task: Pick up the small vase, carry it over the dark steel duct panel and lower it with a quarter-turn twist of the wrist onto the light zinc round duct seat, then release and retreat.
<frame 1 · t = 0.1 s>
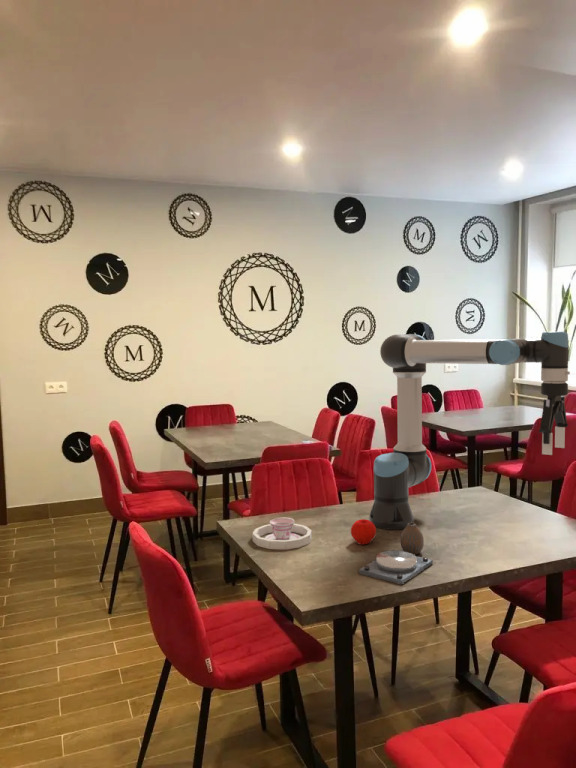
hand: (553, 451, 189), 28 cm above the table, fingers open, 13 cm apart
apple: (363, 543, 191), on the table
vase: (411, 553, 182), on the table
teacup: (282, 540, 196), resting in saucer ring
duct flange: (396, 568, 169), on the table
saucer ring: (282, 539, 196), on the table
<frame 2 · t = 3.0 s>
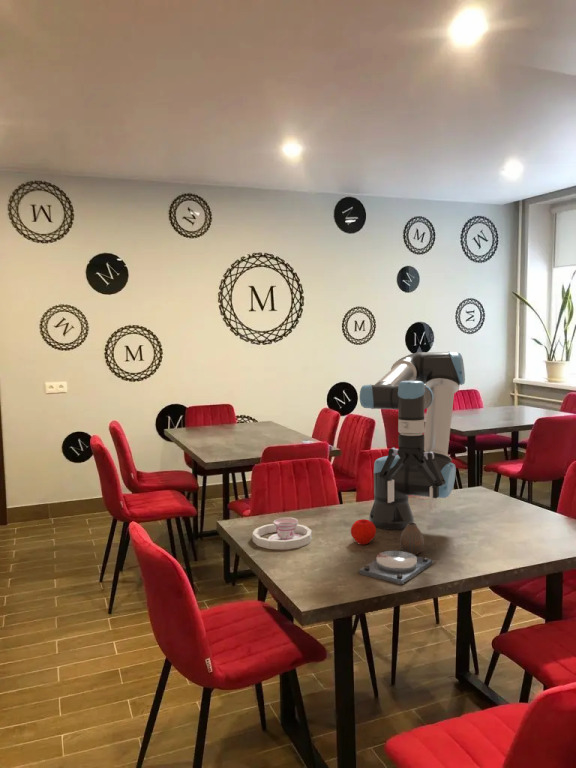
hand: (411, 505, 181), 14 cm above the table, fingers open, 13 cm apart
teacup: (286, 540, 196), resting in saucer ring
everything else where it was.
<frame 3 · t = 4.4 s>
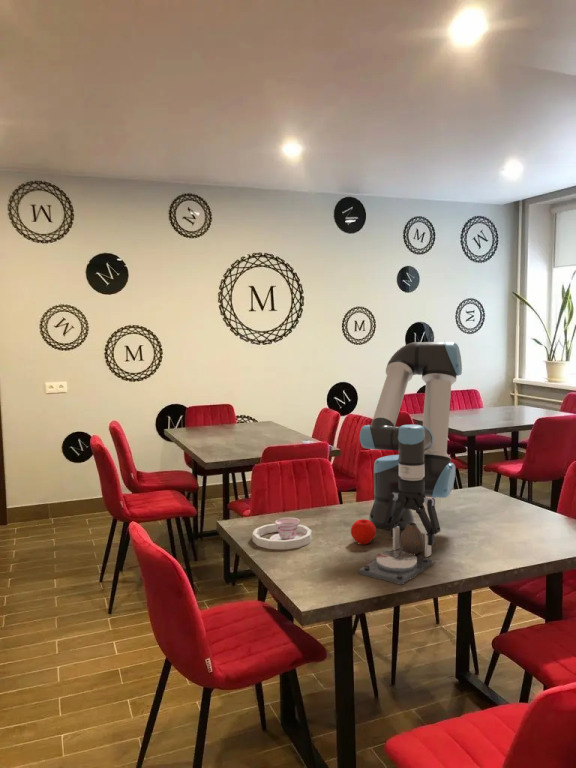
hand: (411, 551, 182), 0 cm above the table, fingers open, 10 cm apart
nothing on the table moved.
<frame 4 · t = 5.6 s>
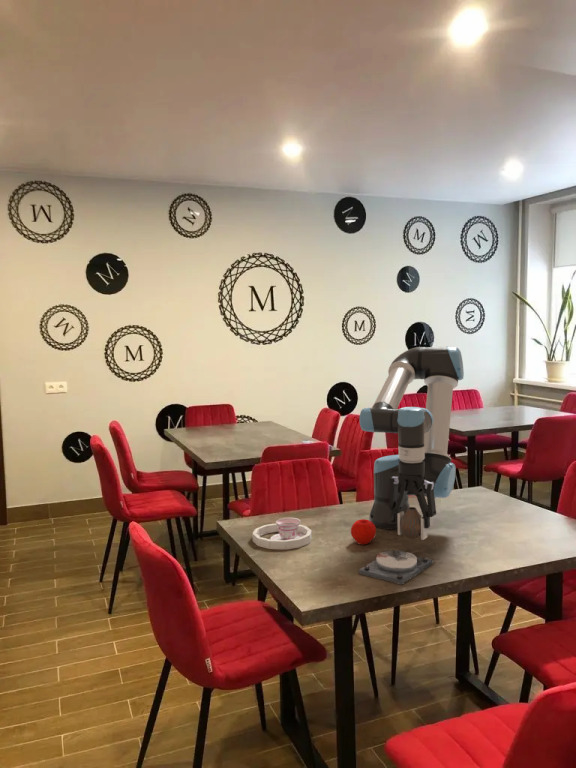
hand: (412, 535, 182), 5 cm above the table, fingers closed on vase, 7 cm apart
vase: (412, 537, 182), point 4 cm above the table, touching gripper
everything else where it was.
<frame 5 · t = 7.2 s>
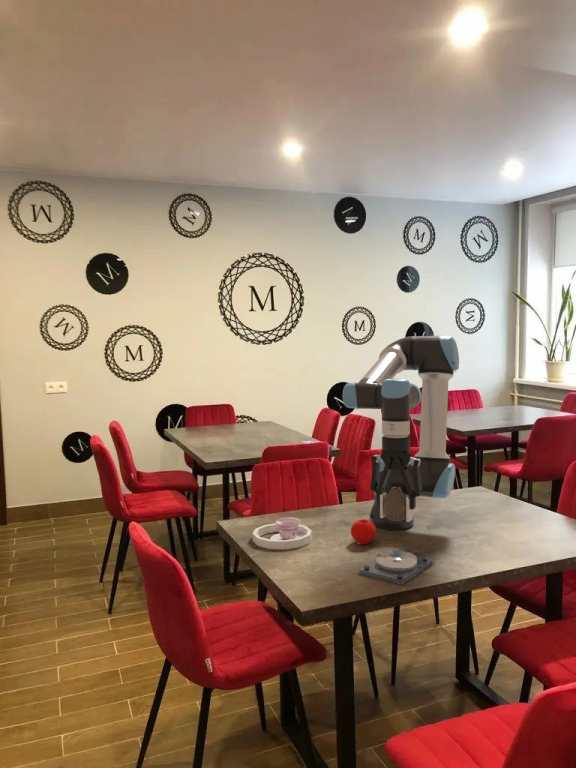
hand: (396, 518, 168), 14 cm above the table, fingers closed on vase, 7 cm apart
vase: (396, 520, 168), point 14 cm above the table, touching gripper
everything else where it was.
when the fingers open (5 cm above the table, at t = 9.0 s): vase stays where it is, resting on duct flange.
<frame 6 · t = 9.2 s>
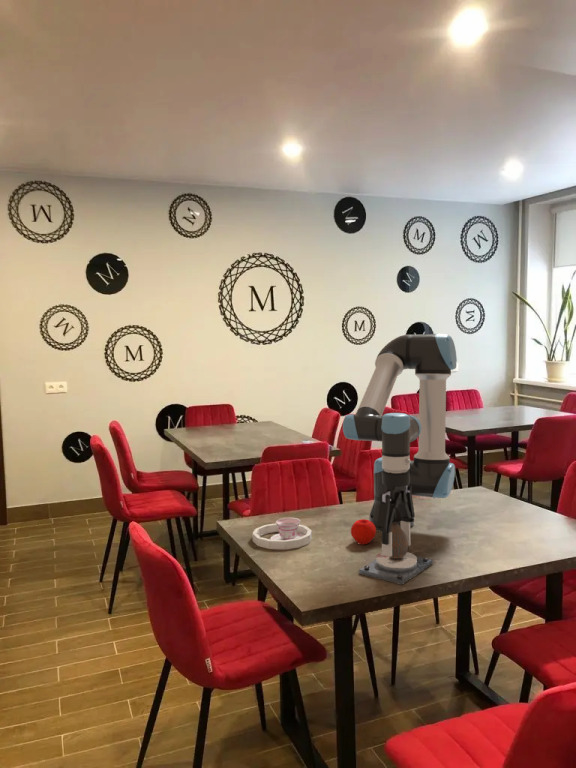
hand: (396, 549, 169), 5 cm above the table, fingers open, 10 cm apart
vase: (396, 557, 169), point 3 cm above the table, touching duct flange
everything else where it was.
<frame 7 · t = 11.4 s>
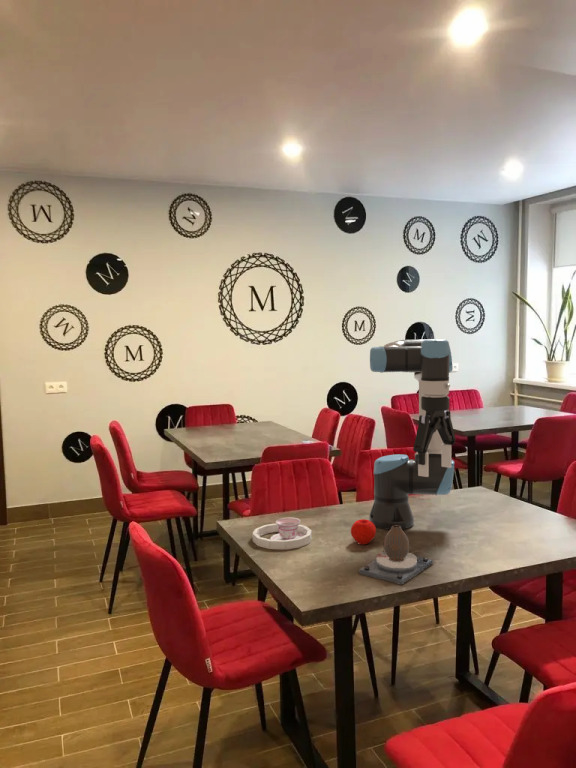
hand: (435, 471, 171), 26 cm above the table, fingers open, 13 cm apart
nothing on the table moved.
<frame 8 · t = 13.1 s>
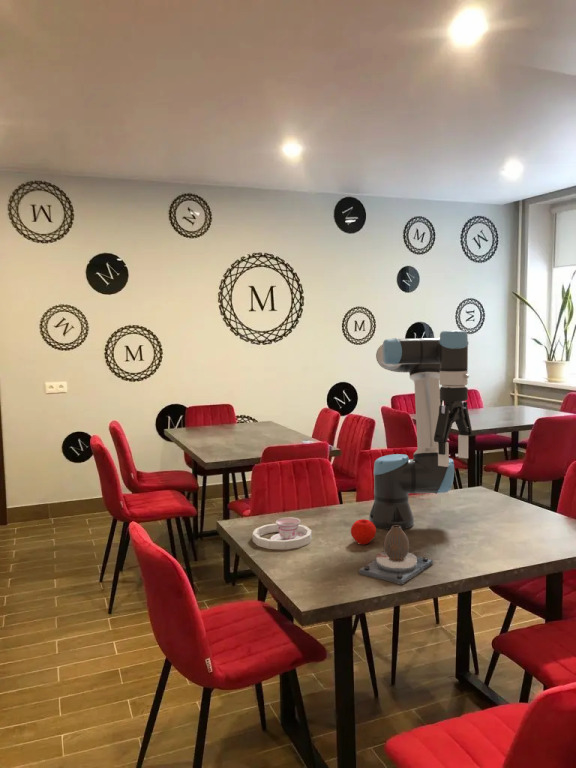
hand: (453, 461, 172), 29 cm above the table, fingers open, 13 cm apart
nothing on the table moved.
at the end: vase 0.0 cm from the duct flange (horizontally); vase point 3.0 cm above the table; vase tilted 0° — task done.
